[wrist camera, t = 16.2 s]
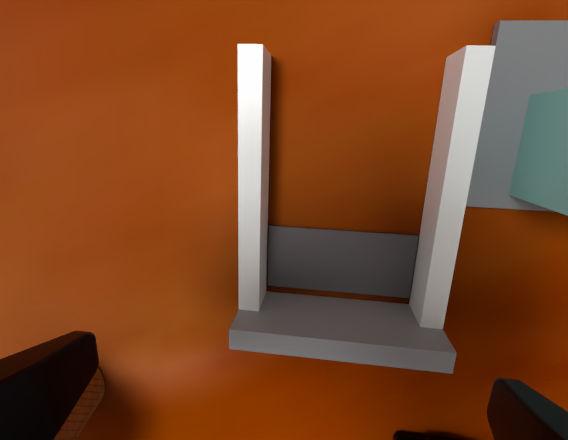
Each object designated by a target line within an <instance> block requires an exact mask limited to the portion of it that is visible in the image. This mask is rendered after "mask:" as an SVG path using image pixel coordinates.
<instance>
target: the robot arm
mask: <svg viewBox="0 0 568 440" xmlns="http://www.w3.org/2000/svg"><path fill="white" fill-rule="evenodd" d="M98 364H99V359H98V352H97V344H96V338H95V335H94V334H93V333H91V332H84V331H74V332H71V333H68V334H65V335H63V336H60V337H58V338H55V339H52V340H50V341H47V342H44V343H42V344H39V345H37V346H34V347H31V348H29V349H26V350H24V351H21V352H18V353H16V354H13V355H10V356H8V357H5V358H3V359H0V440H54V439H55V437H56V436H57V434H58V433H59V431H60V430H61V428H62V427H63V425H64V423H65V422H66V420H67V419H68V417H69V415H70V414H71V412H72V410H73V409H74V407H75V406H76V404H77V402H78V401H79V399H80V398H81V396H82V394H83V393H84V391H85V390H86V388H87V386H88V385H89V383H90V381H91V380H92V378H93V377H94V375H95V373H96V371H97V369H98ZM487 417H488V422H489V425H490V428H491V431H492V433H493V436H494V439H495V440H568V412H567V411H565V410H564V409H562V408H561V407H559V406H558V405H556V404H555V403H553V402H552V401H550V400H549V399H547V398H546V397H544V396H543V395H541V394H540V393H538V392H537V391H535V390H534V389H532V388H530V387H529V386H527V385H526V384H524V383H523V382H521V381H519V380H516V379H507V378H498V379H496V380H495V381H494V384H493V388H492V392H491V396H490V400H489V404H488V408H487ZM393 440H457V439H449V438H441V437H434V436H426V435H419V434H411V433H404V432H398V433H396V434H395V435H394V437H393Z"/></svg>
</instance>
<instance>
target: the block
mask: <svg viewBox="0 0 568 440" xmlns="http://www.w3.org/2000/svg"><path fill="white" fill-rule="evenodd" d="M509 195H511V196H513V197H516V198H519V199H522V200H525V201H528V202H530V203H533V204H536V205H539V206H542V207H544V208H547V209H550V210H553V211H556V212H559V213H561V214H564V215H567V216H568V88H566V89H561V90H555V91H549V92H543V93H538V94H532V95H530V98H529V102H528V107H527V112H526V116H525V121H524V126H523V130H522V135H521V140H520V144H519V149H518V154H517V158H516V163H515V168H514V173H513V177H512V182H511V187H510V191H509Z"/></svg>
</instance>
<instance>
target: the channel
mask: <svg viewBox="0 0 568 440" xmlns="http://www.w3.org/2000/svg"><path fill="white" fill-rule="evenodd" d="M495 47H496V46H465V47H463V48H462V49H460V50H458V51H457V52H455V53H453V54H452V55H450V56H448V57H447V58H446V63H445V70H444V77H443V83H442V90H441V96H440V103H439V110H438V116H437V123H436V129H435V136H434V143H433V149H432V156H431V162H430V169H429V176H428V182H427V189H426V195H425V202H424V209H423V215H422V222H421V228H420V235H419V236H418V235H407V234H393V233H378V232H363V231H348V230H334V229H319V228H304V227H289V226H275V225H269V243H268V286H276V287H287V288H299V289H310V290H321V291H333V292H344V293H355V294H367V295H378V296H389V297H401V298H409V296H410V301H409V304H403V303H392V302H381V301H370V300H359V299H347V298H336V297H325V296H314V295H303V294H292V293H281V292H270V291H266V287H267V240H268V194H269V147H270V101H271V54H270V53H269V52H268V50H267V49H266V48H265V46H264V45H263V44H238V262H239V310H238V312H237V314H236V316H235V318H234V320H233V322H232V324H231V326H230V328H229V349H234V350H243V351H252V352H261V353H270V354H279V355H288V356H297V357H306V358H315V359H324V360H333V361H342V362H351V363H360V364H369V365H378V366H387V367H396V368H405V369H414V370H423V371H432V372H441V373H450V374H453V369H454V364H455V359H456V355H457V353H456V351H455V349H454V348H453V346H452V344H451V342H450V341H449V339H448V337H447V336H446V334H445V332H444V330H443V326H444V320H445V315H446V310H447V304H448V299H449V294H450V288H451V283H452V277H453V272H454V267H455V261H456V256H457V251H458V245H459V240H460V235H461V229H462V224H463V219H464V213H465V208H466V203H467V197H468V192H469V186H470V181H471V176H472V170H473V165H474V160H475V154H476V149H477V144H478V138H479V133H480V128H481V122H482V117H483V112H484V106H485V101H486V95H487V90H488V85H489V79H490V74H491V69H492V63H493V58H494V53H495ZM418 237H419V241H418ZM417 243H418V248H417ZM416 250H417V255H416ZM415 257H416V261H415ZM414 263H415V268H414ZM413 270H414V274H413ZM412 277H413V281H412ZM411 283H412V288H411ZM410 290H411V294H410Z"/></svg>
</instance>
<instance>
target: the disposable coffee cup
mask: <svg viewBox="0 0 568 440" xmlns="http://www.w3.org/2000/svg"><path fill="white" fill-rule="evenodd" d="M104 392H105V384H104V379H103V376H102V374H101V371H100V370H99V368H98V369H97V371H96V373H95V375H94V377H93V378H92V380H91V381H90V383H89V385H88V386H87V388H86V390H85V391H84V393H83V394H82V396H81V398H80V399H79V401H78V402H77V404H76V406H75V407H74V409H73V410H72V412H71V414H70V415H69V417H68V419H67V420H66V422H65V423H64V425H63V427H62V428H61V430H60V431H59V433H58V434H57V436H56V437H55V439H54V440H76V439H77V437H78V435H79V434H80V432H81V431H82V429H83V428H84V426H85V425H86V423H87V422H88V420H89V418H90V417H91V416H92V414H93V412H94V411H95V409H96V408H97V406H98V405H99V403H100V402H101V400H102V398H103V396H104Z"/></svg>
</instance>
